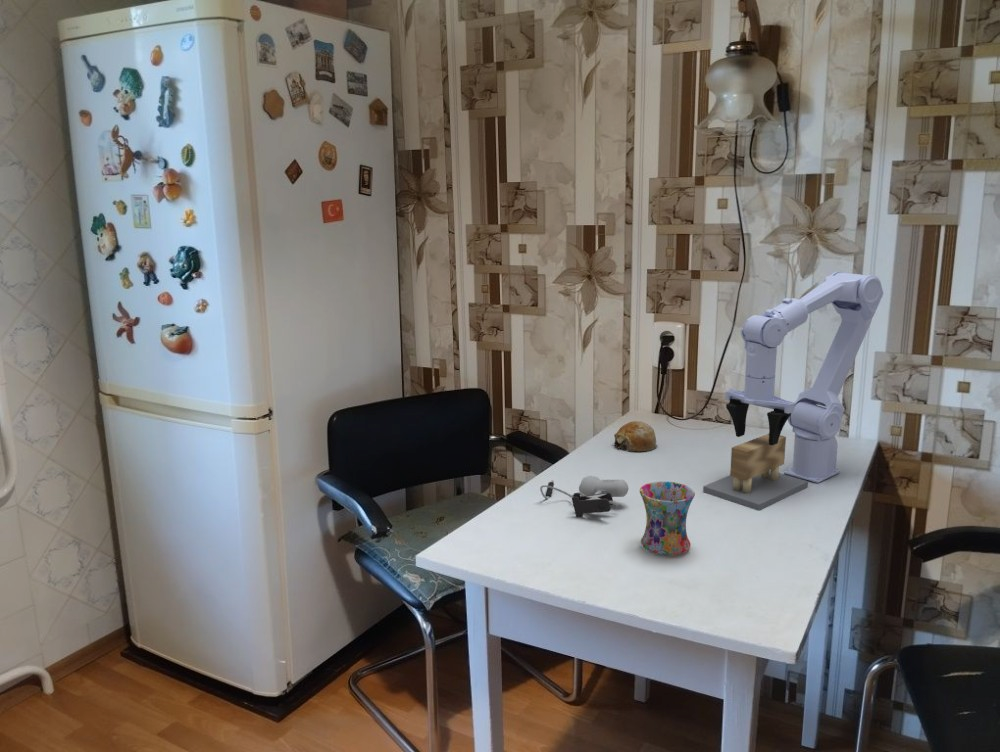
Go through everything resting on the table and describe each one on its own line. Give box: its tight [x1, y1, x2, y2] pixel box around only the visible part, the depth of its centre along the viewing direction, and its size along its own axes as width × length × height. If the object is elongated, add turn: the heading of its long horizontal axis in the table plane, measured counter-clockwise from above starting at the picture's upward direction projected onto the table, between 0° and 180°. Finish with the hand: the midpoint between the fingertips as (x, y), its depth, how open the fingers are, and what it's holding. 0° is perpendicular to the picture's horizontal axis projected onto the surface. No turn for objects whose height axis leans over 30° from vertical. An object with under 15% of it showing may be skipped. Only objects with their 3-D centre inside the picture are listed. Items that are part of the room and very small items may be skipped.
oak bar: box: [729, 433, 787, 480], centre depth 163 cm, size 14×4×6 cm, turn 130°
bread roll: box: [613, 420, 658, 453], centre depth 192 cm, size 10×10×8 cm
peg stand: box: [702, 466, 809, 511], centre depth 164 cm, size 18×13×4 cm
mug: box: [639, 480, 696, 556], centre depth 139 cm, size 12×9×11 cm
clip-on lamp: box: [539, 475, 629, 518], centre depth 158 cm, size 12×6×18 cm
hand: (756, 439), depth 163 cm, fingers open, 7 cm apart
